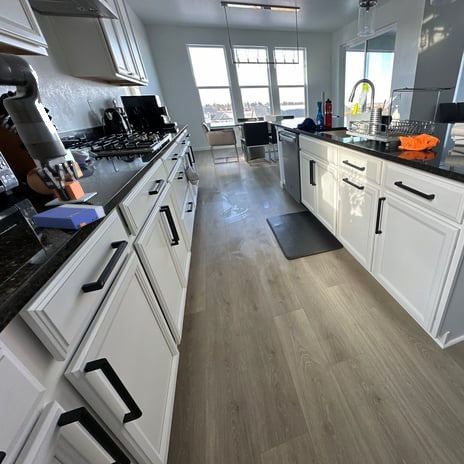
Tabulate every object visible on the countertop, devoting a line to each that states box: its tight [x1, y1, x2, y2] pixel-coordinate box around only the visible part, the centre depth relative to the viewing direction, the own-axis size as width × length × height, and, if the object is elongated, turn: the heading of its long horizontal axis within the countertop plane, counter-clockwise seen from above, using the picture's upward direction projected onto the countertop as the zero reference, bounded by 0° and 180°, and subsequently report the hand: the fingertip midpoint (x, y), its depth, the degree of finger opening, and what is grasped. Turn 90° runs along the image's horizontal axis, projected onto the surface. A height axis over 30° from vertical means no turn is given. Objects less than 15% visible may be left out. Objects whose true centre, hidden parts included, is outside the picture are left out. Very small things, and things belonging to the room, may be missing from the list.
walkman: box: [31, 203, 106, 230], centre depth 62 cm, size 8×3×12 cm
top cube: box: [53, 180, 85, 201], centre depth 76 cm, size 5×5×5 cm
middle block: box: [63, 149, 76, 163], centre depth 98 cm, size 5×5×5 cm
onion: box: [26, 166, 67, 196], centre depth 82 cm, size 10×9×10 cm
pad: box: [44, 191, 98, 207], centre depth 78 cm, size 10×8×1 cm
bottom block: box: [73, 161, 84, 178], centre depth 101 cm, size 6×6×6 cm
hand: (72, 197), depth 77 cm, fingers closed on top cube, 4 cm apart
